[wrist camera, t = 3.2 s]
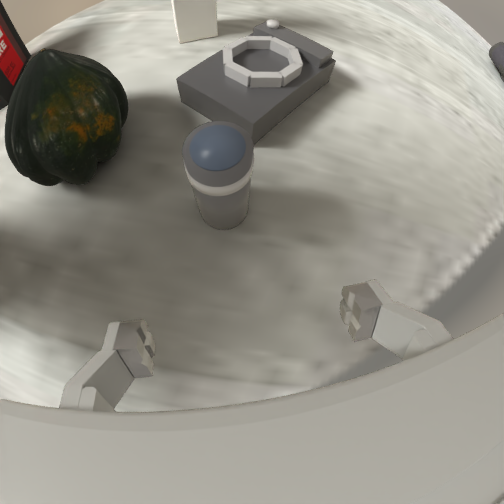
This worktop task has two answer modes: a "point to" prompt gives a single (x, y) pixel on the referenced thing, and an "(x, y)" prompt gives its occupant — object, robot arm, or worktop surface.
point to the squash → (64, 118)
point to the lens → (220, 171)
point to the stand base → (257, 78)
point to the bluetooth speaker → (498, 57)
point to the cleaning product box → (10, 57)
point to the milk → (195, 19)
